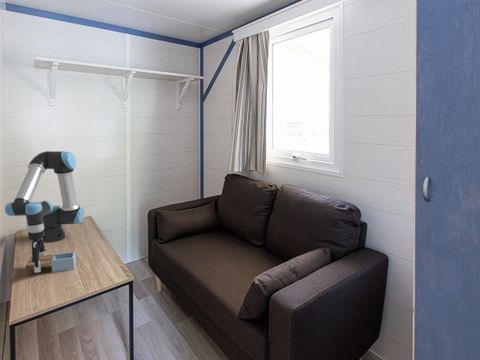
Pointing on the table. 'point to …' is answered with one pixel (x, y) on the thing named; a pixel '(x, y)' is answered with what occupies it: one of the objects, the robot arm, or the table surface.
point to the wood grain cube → (44, 261)
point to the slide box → (63, 261)
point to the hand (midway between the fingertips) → (40, 267)
